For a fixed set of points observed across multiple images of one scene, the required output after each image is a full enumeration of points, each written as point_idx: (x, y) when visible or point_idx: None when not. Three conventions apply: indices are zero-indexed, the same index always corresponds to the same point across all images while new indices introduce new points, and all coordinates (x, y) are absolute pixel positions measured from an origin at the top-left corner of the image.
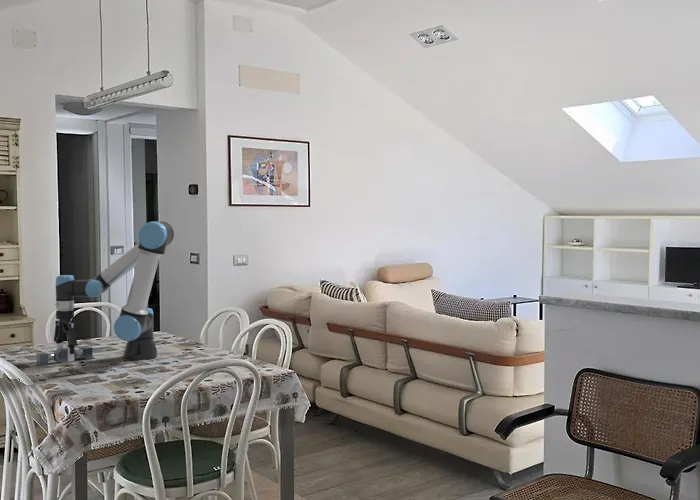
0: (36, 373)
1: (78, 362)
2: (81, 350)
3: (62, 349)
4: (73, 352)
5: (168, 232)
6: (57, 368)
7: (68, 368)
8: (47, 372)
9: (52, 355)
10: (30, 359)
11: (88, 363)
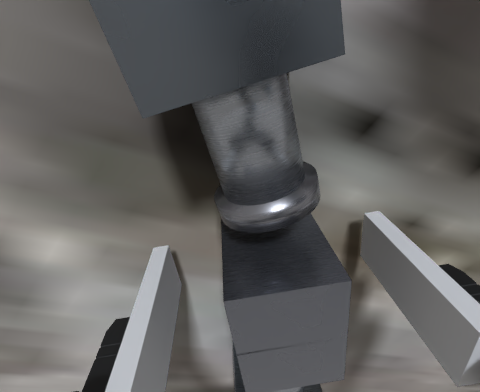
0: (434, 383)
1: (349, 160)
2: (283, 117)
3: (334, 367)
4: (464, 281)
5: None
6: None
7: (476, 268)
8: None
9: None
10: (37, 369)
11: (462, 100)
